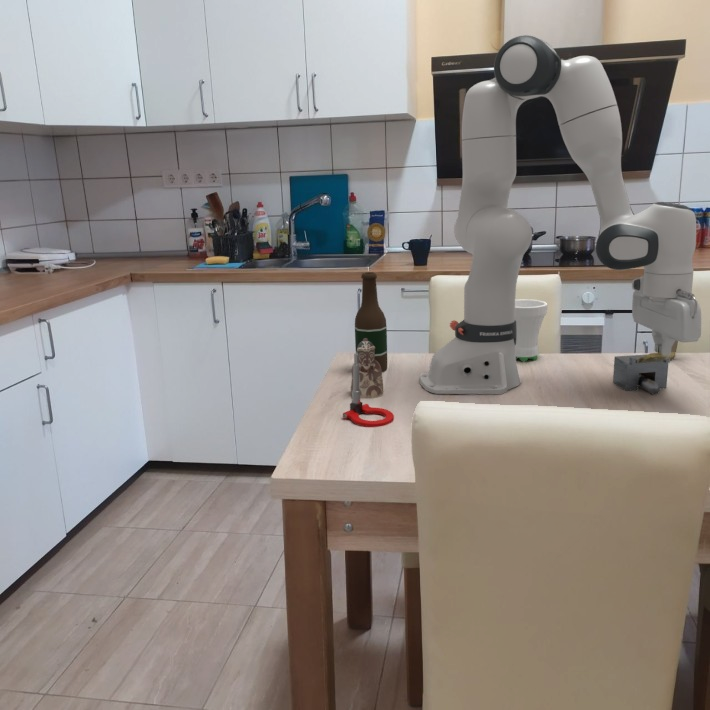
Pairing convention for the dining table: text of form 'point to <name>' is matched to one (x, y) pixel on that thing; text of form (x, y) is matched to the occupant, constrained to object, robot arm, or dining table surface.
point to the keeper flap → (654, 358)
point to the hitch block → (629, 372)
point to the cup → (528, 327)
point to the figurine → (368, 371)
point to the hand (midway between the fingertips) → (662, 353)
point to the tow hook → (358, 408)
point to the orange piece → (648, 384)
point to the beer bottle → (371, 320)
